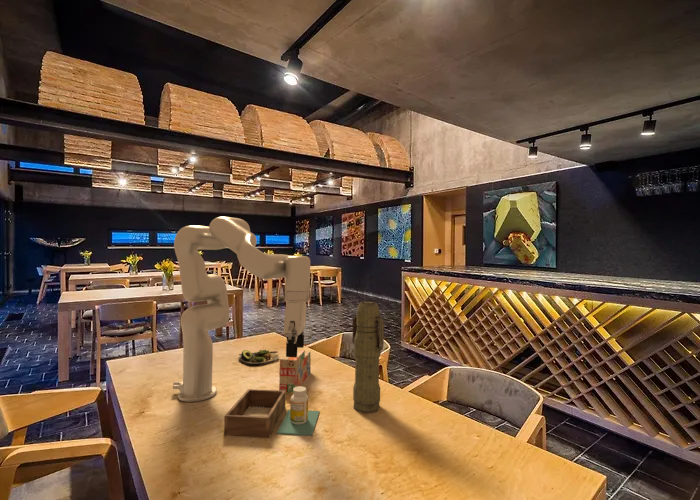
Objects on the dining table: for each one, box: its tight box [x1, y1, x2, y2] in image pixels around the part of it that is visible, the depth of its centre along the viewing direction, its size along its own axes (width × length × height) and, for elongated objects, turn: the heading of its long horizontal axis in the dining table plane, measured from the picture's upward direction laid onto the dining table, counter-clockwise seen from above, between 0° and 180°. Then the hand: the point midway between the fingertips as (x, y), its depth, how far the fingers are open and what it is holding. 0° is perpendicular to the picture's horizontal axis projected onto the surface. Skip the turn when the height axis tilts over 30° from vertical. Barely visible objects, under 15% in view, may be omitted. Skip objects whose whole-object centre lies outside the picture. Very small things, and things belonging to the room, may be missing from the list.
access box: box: [223, 388, 287, 439], centre depth 104 cm, size 19×13×6 cm
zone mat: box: [276, 409, 320, 436], centre depth 103 cm, size 10×14×1 cm
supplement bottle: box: [289, 385, 309, 425], centre depth 103 cm, size 5×5×10 cm
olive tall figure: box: [351, 300, 385, 414], centre depth 114 cm, size 9×12×35 cm
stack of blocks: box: [278, 349, 312, 393], centre depth 135 cm, size 21×6×12 cm, turn 172°
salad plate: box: [238, 349, 280, 367], centre depth 163 cm, size 19×18×5 cm
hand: (295, 351), depth 105 cm, fingers open, 9 cm apart
